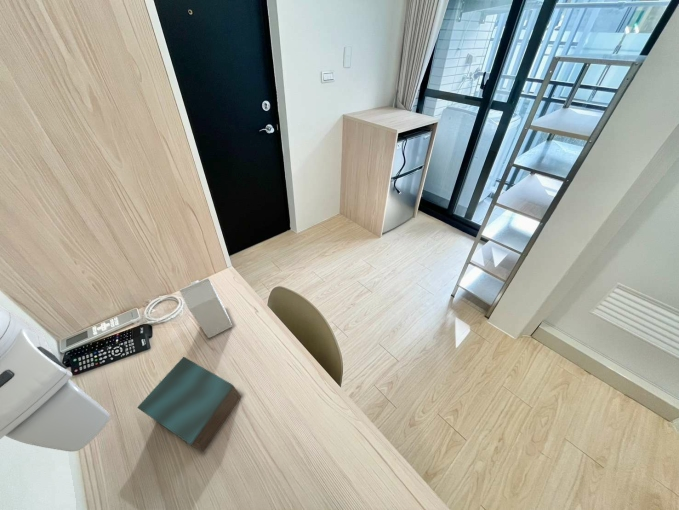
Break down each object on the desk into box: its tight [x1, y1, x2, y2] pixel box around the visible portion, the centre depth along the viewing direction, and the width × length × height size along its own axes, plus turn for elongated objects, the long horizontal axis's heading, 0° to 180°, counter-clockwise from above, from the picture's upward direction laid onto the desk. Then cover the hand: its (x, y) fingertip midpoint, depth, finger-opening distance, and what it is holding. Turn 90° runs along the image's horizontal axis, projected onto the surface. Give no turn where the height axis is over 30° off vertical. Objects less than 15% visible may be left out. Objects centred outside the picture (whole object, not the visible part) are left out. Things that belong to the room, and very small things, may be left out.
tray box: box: [191, 385, 242, 453], centre depth 63 cm, size 15×13×7 cm
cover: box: [137, 356, 234, 446], centre depth 60 cm, size 15×13×1 cm
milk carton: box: [178, 277, 233, 339], centre depth 75 cm, size 7×7×19 cm
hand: (75, 406), depth 35 cm, fingers closed
